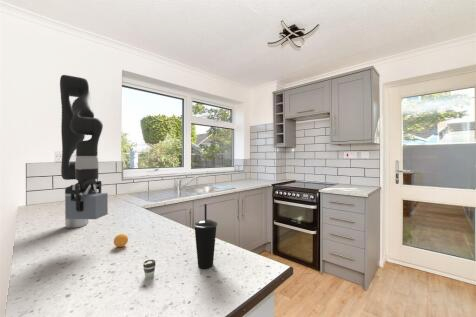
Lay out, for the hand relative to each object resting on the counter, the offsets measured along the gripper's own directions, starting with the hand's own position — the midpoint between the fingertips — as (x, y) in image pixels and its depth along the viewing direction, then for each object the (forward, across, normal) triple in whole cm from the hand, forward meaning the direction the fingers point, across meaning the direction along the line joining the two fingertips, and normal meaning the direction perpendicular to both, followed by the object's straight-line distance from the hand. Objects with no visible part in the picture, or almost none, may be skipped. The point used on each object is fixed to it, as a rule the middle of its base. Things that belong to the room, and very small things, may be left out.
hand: (87, 208), depth 87 cm
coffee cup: (+15, +21, +34) cm, 43 cm away
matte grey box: (+3, 0, 0) cm, 3 cm away
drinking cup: (+15, +14, +50) cm, 54 cm away
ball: (+12, 0, +14) cm, 18 cm away
